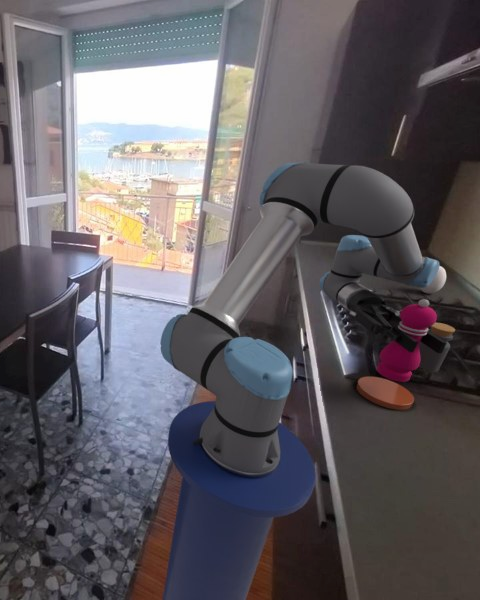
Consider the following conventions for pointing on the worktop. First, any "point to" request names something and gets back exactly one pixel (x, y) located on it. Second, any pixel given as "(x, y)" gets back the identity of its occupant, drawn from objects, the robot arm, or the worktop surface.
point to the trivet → (385, 393)
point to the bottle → (430, 357)
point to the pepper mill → (396, 357)
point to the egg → (436, 282)
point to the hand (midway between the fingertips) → (427, 347)
